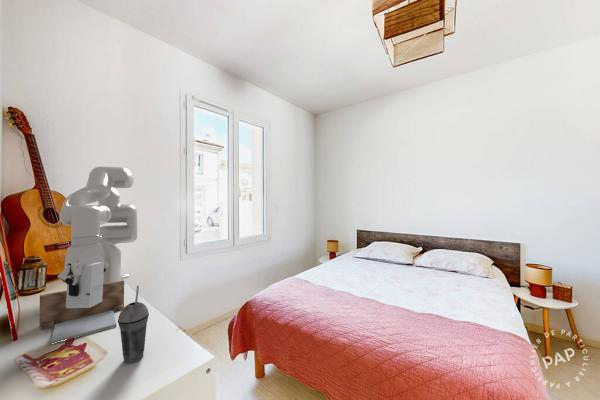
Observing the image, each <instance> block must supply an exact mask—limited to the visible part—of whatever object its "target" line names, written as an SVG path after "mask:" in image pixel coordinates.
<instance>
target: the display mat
mask: <svg viewBox="0 0 600 400" xmlns="http://www.w3.org/2000/svg"><path fill="white" fill-rule="evenodd" d="M116 327H117V321H116V317H115V314H114V310H110V311H106V312H102V313H98V314H94V315H89V316H85V317H81V318H77V319H73V320H69V321H65V322H61V323H56V324H54V326H53V328H54V329H53V333H52V337H51V341H50V343H55V342H58V341H61V340H65V339H67V338H70V337H78V336H81V337H85V336H88V335H92V334H95V333H99V332H102V331H106V330H109V329H113V328H116ZM78 338H79V337H78Z"/></svg>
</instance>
